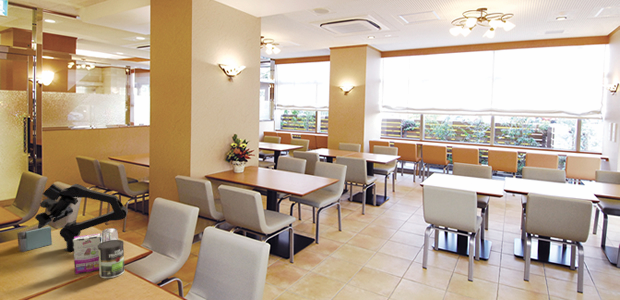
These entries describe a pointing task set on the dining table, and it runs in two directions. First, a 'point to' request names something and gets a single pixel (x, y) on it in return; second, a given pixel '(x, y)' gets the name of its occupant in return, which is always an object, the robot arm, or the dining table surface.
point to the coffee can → (111, 258)
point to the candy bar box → (86, 253)
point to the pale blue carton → (22, 235)
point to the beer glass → (109, 234)
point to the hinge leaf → (36, 239)
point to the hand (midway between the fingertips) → (46, 224)
